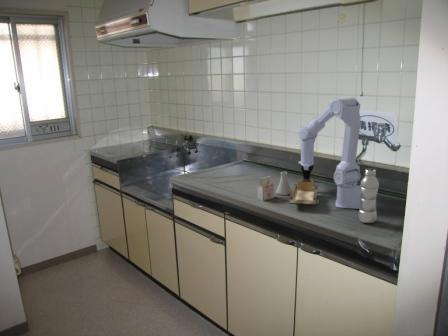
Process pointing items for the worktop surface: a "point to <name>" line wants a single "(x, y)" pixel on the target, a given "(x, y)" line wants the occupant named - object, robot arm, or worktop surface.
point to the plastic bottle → (368, 197)
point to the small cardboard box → (303, 196)
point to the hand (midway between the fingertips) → (306, 181)
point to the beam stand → (308, 204)
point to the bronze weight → (305, 184)
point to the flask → (283, 185)
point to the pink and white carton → (265, 188)
